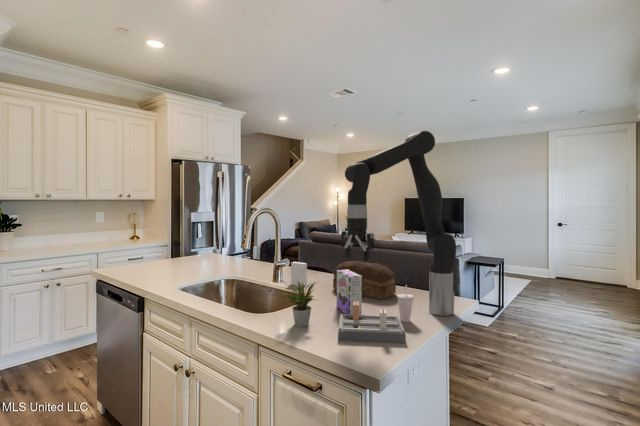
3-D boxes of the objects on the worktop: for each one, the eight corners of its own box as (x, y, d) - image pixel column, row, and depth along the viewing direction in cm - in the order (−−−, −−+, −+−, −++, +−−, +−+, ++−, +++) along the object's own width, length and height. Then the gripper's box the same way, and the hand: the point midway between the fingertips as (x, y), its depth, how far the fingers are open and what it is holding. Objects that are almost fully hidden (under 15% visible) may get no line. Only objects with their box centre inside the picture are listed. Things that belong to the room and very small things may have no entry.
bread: (385, 301, 162) (385, 267, 161) (329, 290, 181) (329, 259, 181) (398, 294, 173) (399, 262, 173) (345, 285, 193) (345, 256, 192)
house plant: (302, 314, 142) (302, 274, 142) (328, 322, 134) (329, 279, 133) (276, 324, 131) (276, 280, 131) (303, 332, 123) (303, 286, 122)
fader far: (358, 316, 130) (358, 301, 129) (358, 320, 125) (359, 304, 125) (353, 316, 130) (353, 300, 130) (353, 320, 125) (353, 304, 125)
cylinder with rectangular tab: (310, 283, 195) (310, 262, 194) (300, 287, 187) (301, 264, 187) (297, 281, 199) (297, 260, 199) (287, 285, 192) (287, 263, 191)
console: (399, 325, 130) (399, 315, 130) (405, 343, 114) (405, 331, 114) (339, 323, 132) (340, 313, 132) (338, 340, 116) (338, 329, 116)
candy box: (335, 307, 152) (336, 269, 152) (348, 305, 154) (348, 268, 154) (348, 317, 139) (349, 276, 139) (362, 315, 141) (362, 275, 141)
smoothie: (401, 324, 132) (402, 287, 131) (393, 318, 138) (394, 283, 137) (416, 322, 133) (417, 286, 133) (408, 317, 140) (408, 282, 139)
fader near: (385, 325, 121) (385, 308, 121) (386, 329, 116) (386, 312, 116) (379, 324, 121) (379, 308, 121) (380, 329, 116) (380, 312, 116)
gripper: (378, 217, 129) (378, 260, 130) (349, 215, 139) (349, 256, 140) (365, 217, 124) (365, 263, 124) (336, 216, 134) (336, 258, 135)
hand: (357, 259), depth 132 cm, fingers open, 8 cm apart
